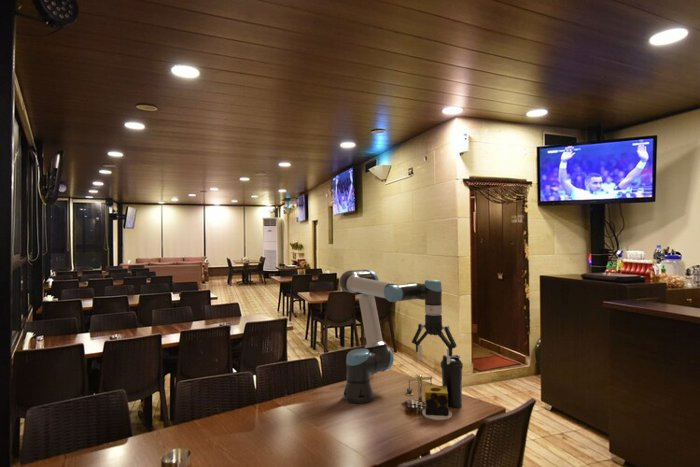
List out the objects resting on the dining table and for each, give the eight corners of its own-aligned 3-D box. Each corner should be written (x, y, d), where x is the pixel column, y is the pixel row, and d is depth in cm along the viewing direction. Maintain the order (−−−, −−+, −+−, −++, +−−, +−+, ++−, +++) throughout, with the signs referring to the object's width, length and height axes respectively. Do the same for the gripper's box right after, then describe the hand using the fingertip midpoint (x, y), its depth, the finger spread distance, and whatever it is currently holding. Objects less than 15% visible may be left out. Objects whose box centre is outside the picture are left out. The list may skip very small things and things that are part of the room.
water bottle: (466, 409, 192) (464, 358, 193) (443, 409, 192) (442, 358, 193) (460, 401, 202) (459, 353, 203) (439, 401, 202) (438, 353, 203)
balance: (402, 403, 200) (402, 374, 201) (406, 399, 205) (406, 371, 205) (434, 409, 192) (434, 378, 193) (438, 405, 196) (437, 376, 197)
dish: (418, 416, 184) (418, 413, 184) (428, 407, 195) (428, 404, 195) (446, 422, 177) (446, 419, 177) (455, 412, 188) (455, 409, 188)
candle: (448, 408, 190) (447, 385, 190) (449, 416, 180) (448, 393, 181) (425, 406, 192) (424, 384, 192) (425, 415, 182) (424, 392, 182)
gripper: (404, 313, 192) (405, 359, 191) (458, 317, 179) (458, 367, 178) (410, 311, 198) (411, 355, 198) (463, 315, 186) (463, 363, 185)
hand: (433, 361), depth 188 cm, fingers open, 13 cm apart
